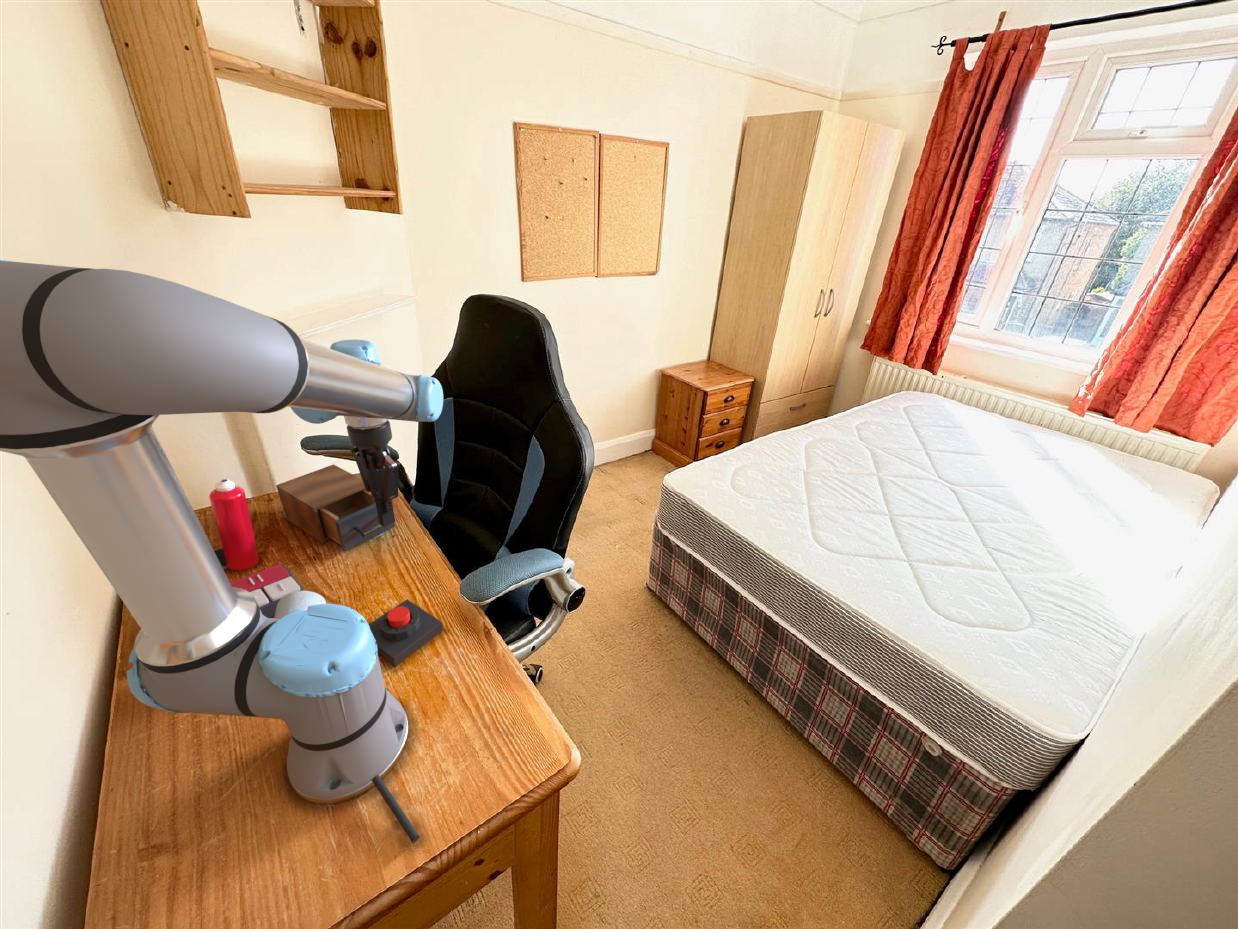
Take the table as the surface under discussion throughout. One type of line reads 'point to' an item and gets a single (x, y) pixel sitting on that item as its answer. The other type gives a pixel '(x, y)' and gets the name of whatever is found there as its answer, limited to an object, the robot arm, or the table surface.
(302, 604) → the ceramic mug
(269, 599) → the calculator
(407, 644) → the panel
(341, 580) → the table surface
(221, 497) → the bottle
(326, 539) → the cabinet
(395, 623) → the button
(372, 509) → the drawer
